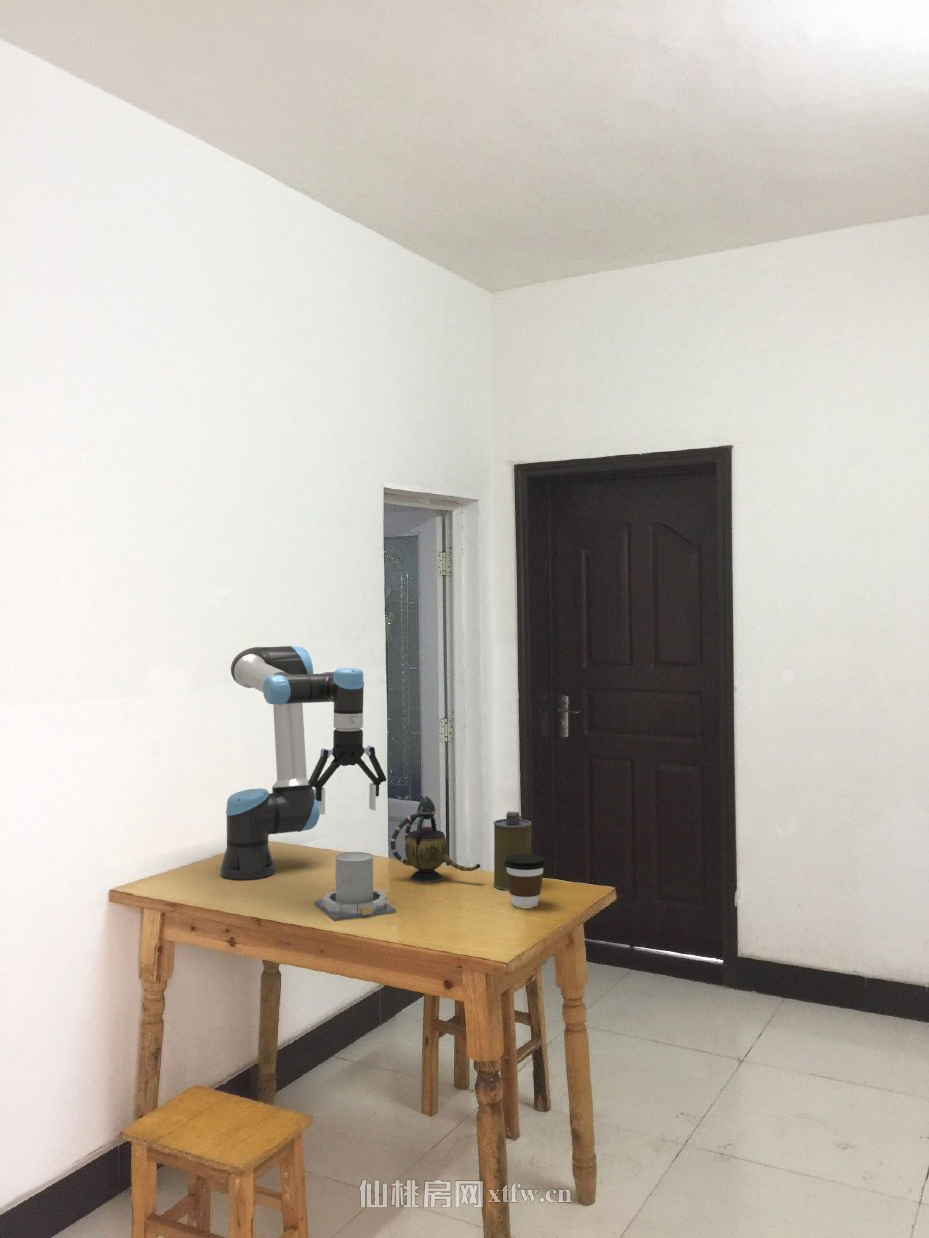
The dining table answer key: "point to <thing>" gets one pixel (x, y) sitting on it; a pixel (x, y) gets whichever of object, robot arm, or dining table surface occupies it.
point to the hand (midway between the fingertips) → (347, 811)
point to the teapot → (425, 846)
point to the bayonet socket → (355, 907)
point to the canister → (509, 844)
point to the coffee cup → (524, 878)
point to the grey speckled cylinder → (354, 877)
